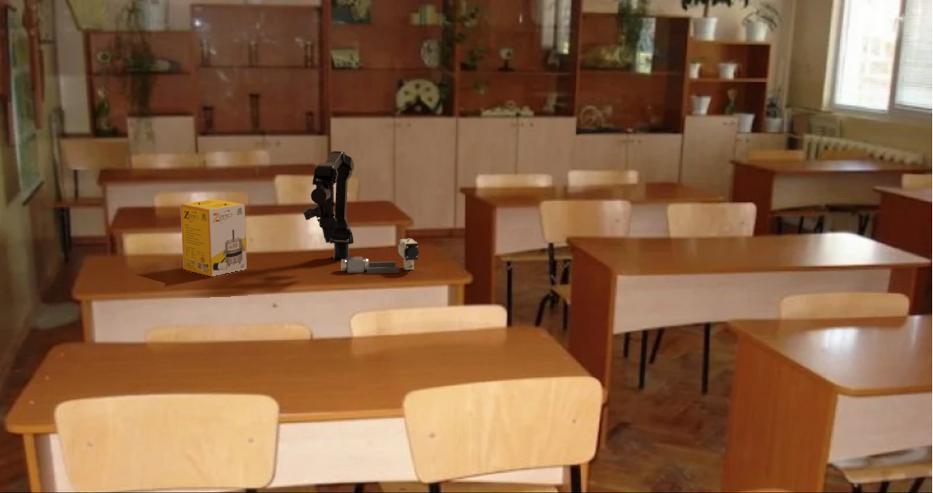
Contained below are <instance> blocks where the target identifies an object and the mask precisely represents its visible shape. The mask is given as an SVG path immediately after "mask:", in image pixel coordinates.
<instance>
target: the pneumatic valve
mask: <svg viewBox="0 0 933 493" xmlns="http://www.w3.org/2000/svg"><path fill="white" fill-rule="evenodd" d="M397 252H398V253H399V256H400V257H402V258H403V260H402V262H403V266H402V268H403V269H404V270H405V271H409V270H412V271H413V270H414V269H415V267H414V265H415V264H414V263H415V261H417V260H419V254H420V251H419V243H418V242H417V241H415V240H414V239H413V238H409V237H408V238H399V243H398V244H397ZM414 260H415V261H414Z"/></svg>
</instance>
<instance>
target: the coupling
mask: <svg viewBox="0 0 933 493" xmlns="http://www.w3.org/2000/svg"><path fill="white" fill-rule="evenodd" d="M369 262H370V261H369V258H364V257H363V256H350V257H346V259H341V260H340V269H341V272H346V273H347V274H355V273H356V274H357V273H361V274H362V273H365V271H367V268H369Z"/></svg>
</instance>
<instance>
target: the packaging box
mask: <svg viewBox="0 0 933 493" xmlns="http://www.w3.org/2000/svg"><path fill="white" fill-rule="evenodd" d="M179 208H180V225H181V227H180V229H181V243H182V244H181V246H182V264H183V266H182V267H183V268H182V270H183V269H185V270H189V271H193V272H197V273H201V274H204V275H208V276H216V275H221V274H225V273H230V274H232V273H231V272H234V273H236V272H235V271H238V272H241V271H240V270H242V271H245V269H246V270H248V269H247V268H248V265H247V264H248V262H247V238H246V237H247V236H246V235H247V234H246V233H247V232H246V230H247V229H246V204H245V203H241V202H236V201H229V200H225V199H220V198H212V199H210V198H209V199H205V200H199V201H192V202H185V203H181V204H180V207H179Z"/></svg>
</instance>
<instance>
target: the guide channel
mask: <svg viewBox="0 0 933 493" xmlns="http://www.w3.org/2000/svg"><path fill="white" fill-rule="evenodd" d="M396 264H397V263H396V261H395V260H394V261H369V268H367V270H366V274H367V275H368V274H369V275H373V274H391V273H393V274H394V273H395V274H396V273H397V274H398V273H400V266H396Z"/></svg>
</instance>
